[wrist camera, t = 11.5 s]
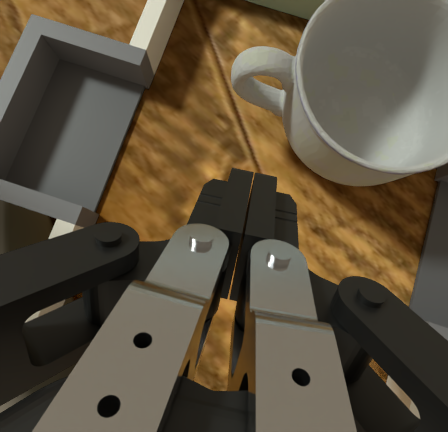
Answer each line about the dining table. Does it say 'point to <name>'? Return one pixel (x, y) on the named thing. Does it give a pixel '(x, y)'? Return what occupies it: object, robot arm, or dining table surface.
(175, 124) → the dining table surface
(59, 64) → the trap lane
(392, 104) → the teacup
